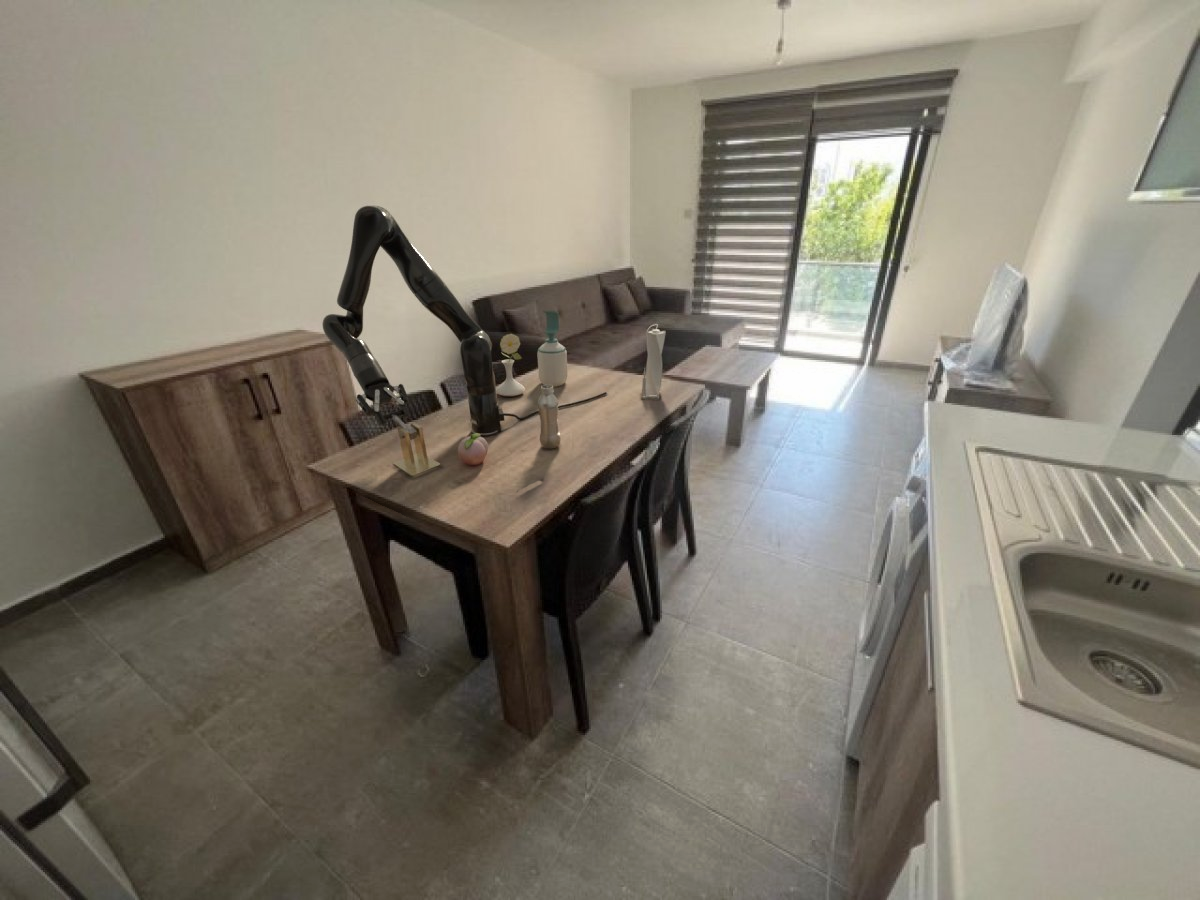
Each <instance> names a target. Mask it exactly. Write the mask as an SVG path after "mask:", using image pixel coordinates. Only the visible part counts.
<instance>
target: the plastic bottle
mask: <svg viewBox="0 0 1200 900" xmlns="http://www.w3.org/2000/svg"><path fill="white" fill-rule="evenodd" d="M554 391H555V390H554V387H553V386H552V385H544V384H542V385H541V386H540V393H541V395H540V396H539V398H538V400H537V404H536V405H537V411H539V413H538V414H539V419H540V434H539V442H540V445H541V446H542V447H543V448H544V449H547V450H548V449H550V450H551V449H555V448H557V447H559V445H560V444H561V434H560V429H559V423H558V421H559V420H558V419H559V417H558V414H559V408H558V406H559V400H558V398H557V397H556V395H555V394H554Z"/></svg>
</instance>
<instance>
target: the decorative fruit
mask: <svg viewBox="0 0 1200 900" xmlns="http://www.w3.org/2000/svg"><path fill="white" fill-rule="evenodd" d="M488 451H489V443H488V441H487V440H486V439H485V438H484V437H483V436H480V434H478V433H475V434H473V433H471V434H470V436H466V437H464V438H463V439H462V440H461V441H460V442H459V444H458V446H457V454H458V457H459V459H460V460H462V462H463V463H465V464H467V465H469V466H478V465H480V464H481V463H483V461H484V460H485V459H486V457H487V454H488Z"/></svg>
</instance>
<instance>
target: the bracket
mask: <svg viewBox="0 0 1200 900" xmlns="http://www.w3.org/2000/svg"><path fill="white" fill-rule="evenodd" d="M411 426H412V427H413V428H414V429H415V430H416V431H417V438H415V439H413V442H414V448H415V453H416V454H414V452H413V447H412V442H411V440H410V437H409V432H408V431H407V430H405V429H403V428H401V427H400V426H399V427H397V434H398V437H399V443H400V447H401V452H402V456H403V459H400V460H398V461H395V462H392V464H393V465H394V466H395V467H397V468H399V470H401V471H403V472H405V473H407V474H408V475H409V476H410V477H414V476H417V475H420V474H422V473H424V472H426V471H429V470H432V469H435V468H436V467H439V466H441V465H442V464H441V463H440V462H439V461H437V460H434V459H433V458H431V457H429V456H428V454H427V448H426V443H425V442H426V441H425V437H424V431H423V427H422V426H421V425H419V424H417V423H416V422H411V423H410V427H411Z"/></svg>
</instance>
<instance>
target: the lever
mask: <svg viewBox="0 0 1200 900" xmlns="http://www.w3.org/2000/svg"><path fill="white" fill-rule="evenodd" d="M382 415H383V416H384V418H385V420H386V421H387V420H390V419H391V420H393V422H395V423H396V424H397V425H398V426H399V427H401V428H403V429H405V430H407V431H408V432H409V437H410V441H412V440H414V439H415V438H417V431H416V430H415V429H414V428H413V427H412V426H411V425H410V426H408V425H407V424H405V422H403V421H402V419H400V416H402V415H403V411H402V410H397V411H394V412H390V413H387V414H382Z"/></svg>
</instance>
